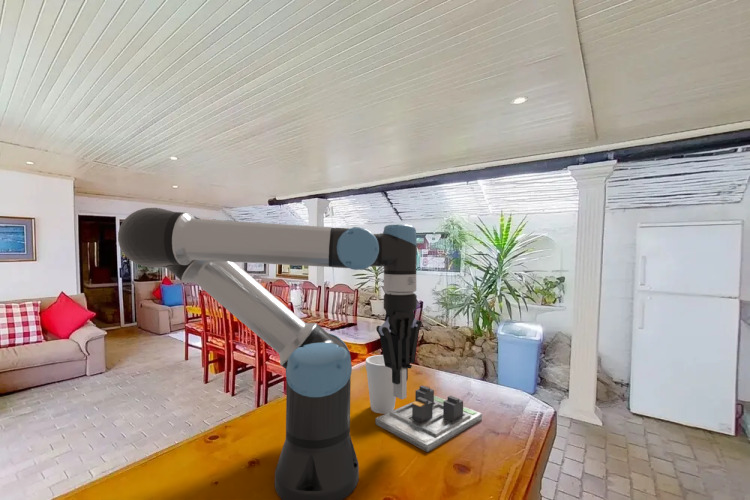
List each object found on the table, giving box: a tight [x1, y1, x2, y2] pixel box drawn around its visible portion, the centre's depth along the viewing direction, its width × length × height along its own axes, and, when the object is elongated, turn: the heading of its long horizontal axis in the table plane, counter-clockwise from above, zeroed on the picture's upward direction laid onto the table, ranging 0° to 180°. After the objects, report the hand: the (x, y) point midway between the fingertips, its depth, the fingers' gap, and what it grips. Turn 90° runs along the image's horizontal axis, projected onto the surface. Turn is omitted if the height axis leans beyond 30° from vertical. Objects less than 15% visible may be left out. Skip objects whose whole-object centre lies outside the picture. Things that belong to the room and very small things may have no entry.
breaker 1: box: [414, 385, 435, 405], centre depth 91 cm, size 4×3×5 cm
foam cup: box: [365, 354, 397, 415], centre depth 93 cm, size 10×9×13 cm
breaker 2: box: [411, 397, 433, 423], centre depth 83 cm, size 4×3×5 cm
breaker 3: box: [443, 395, 464, 422], centre depth 85 cm, size 4×3×5 cm
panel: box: [375, 395, 483, 453], centre depth 85 cm, size 22×16×2 cm
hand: (399, 396), depth 78 cm, fingers closed
